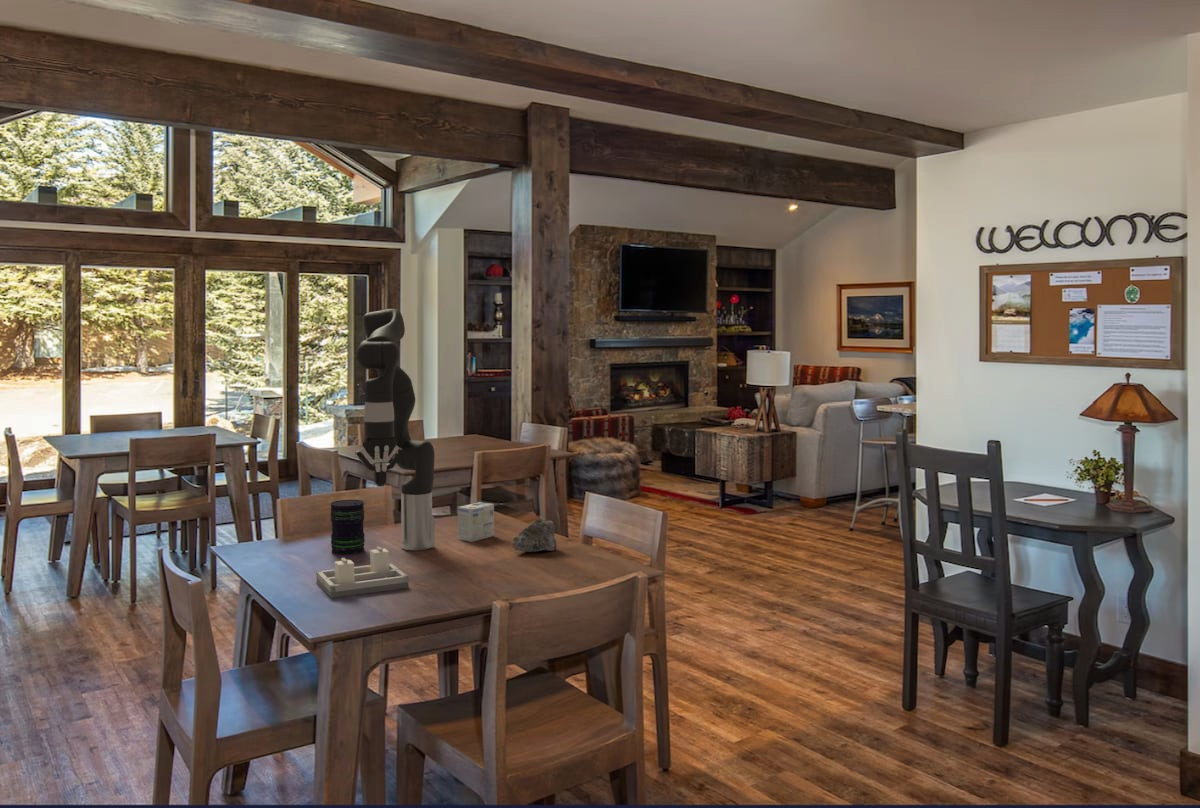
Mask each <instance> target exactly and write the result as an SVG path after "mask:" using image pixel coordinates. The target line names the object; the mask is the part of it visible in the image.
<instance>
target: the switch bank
mask: <svg viewBox="0 0 1200 808" xmlns="http://www.w3.org/2000/svg"><path fill="white" fill-rule="evenodd" d="M354 581H355V582H351V583H343V584H335V568H334V569H328V570H326V569H325V570H318V571H316V583H317V585H318V586H319V587H320V588H321V589H322V590H323V592H325V593H326V594H327V595H328V597H329V598H330V599H335V598H341V597H342V598H343V597H348V596H357V594H358V595H363V594H372V593H378V592H384V591H385V592H386V591H393V590H400V589H408V588H409V575H407V574H406V573H405V572H403V570H401V569H400V568H398V567H397V566H395V565H394V564H393V563H392V562H389V570H385V571H377V572H370V564H369V565H368V564H367V565H360V566H354Z"/></svg>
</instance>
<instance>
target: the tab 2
mask: <svg viewBox="0 0 1200 808" xmlns="http://www.w3.org/2000/svg"><path fill="white" fill-rule="evenodd" d="M369 562H370V563H369V565H370V572H377V571H385V570H389V563H390V551H389V550H388V549H386V547H385V548H382V547H380V546H376V547H375V548H374V549H370V550H369Z"/></svg>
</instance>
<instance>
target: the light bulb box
mask: <svg viewBox="0 0 1200 808" xmlns="http://www.w3.org/2000/svg"><path fill="white" fill-rule="evenodd" d="M494 536H495V505H494V503H489V502H488V503H487V502H483V501H478V502H474V503H471V504H465V505H462V506H457V539H458V540H460V541H466V542H468V543H469V542H471V543H473V542H476V541H477V542H478V541H480V540H484V539H488V538H492V537H494Z"/></svg>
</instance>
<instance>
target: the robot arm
mask: <svg viewBox="0 0 1200 808" xmlns="http://www.w3.org/2000/svg"><path fill="white" fill-rule="evenodd" d="M362 319H363V320H362V323H363V327H364V332H365V336H366V339H365V340H363V341H361V342H360V343H359V345H358V347H357V349H356V362H357V364H358V365H359V367H361V368H363V369H364V370H376V372H377V373H376V374H377V377H374V378H368V379H366V381H365V383H364V410H363V422H364V423H363V427H364V429H363V430H364V433H363V434H364V437H363V438H364V440H363V443H362V446H361V448H360V449H358V450H356V451H354V455H355V456H356V457H357V459H358V460H359V461H360V462H361V463H362V464H363V465H364V467H366V469H368V470H369V471H373V482H374V484H376V486H377V487H385V484H387V471H389V470H391V469H393V468H394V467H395V466H396V464H397V466H398V467H399V468H400V469H402V470H407V471H415V472H414V477H413V478H412V479H410V480H407V481H404V482H403V483H402V484H401V487H400V489H401V491H400V492H401V493H400V495H401V497H400V498H401V503H400V504H401V549H403V550H405V551H423V550H424V551H425V550H429V549H432V548H435V547H436V546H435V545H436V542H435V536H436V535H435V516H433V486H434V485H433V484H434V481H435V479H434V478H435V449H434V446H433V444H432V442H430V441H427V440H419V439H418V440H416V439H412V438H411V436H410V432H409V421H410V419H411V416H412V413H413V411H414V408H415V405H416V395H415V390H414V386H413V383H412V379H411V377H410V376H409V375H408V374H407V372H406V371H404V370H403V368H401V367H400V366H399V365H398V363H399V358H400V350H399V347H398V345H397V343H398V342H400V341H401V340H402V339H403V337H404V336H405V331H406V329H405V326H406V325H405V321H404V318H403V315H402V312H401V311H399V309H396V308H386V309H382V310H377V311H370V312H367V313H365V314H364V315H363V318H362ZM392 453H393V455H392ZM367 454H368V456H369V457H370V458H371V462H372V464H371V462H370V461H369V460H368V459H367V457H366V456H367ZM390 455H391V457H390ZM389 457H390V459H389Z"/></svg>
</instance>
